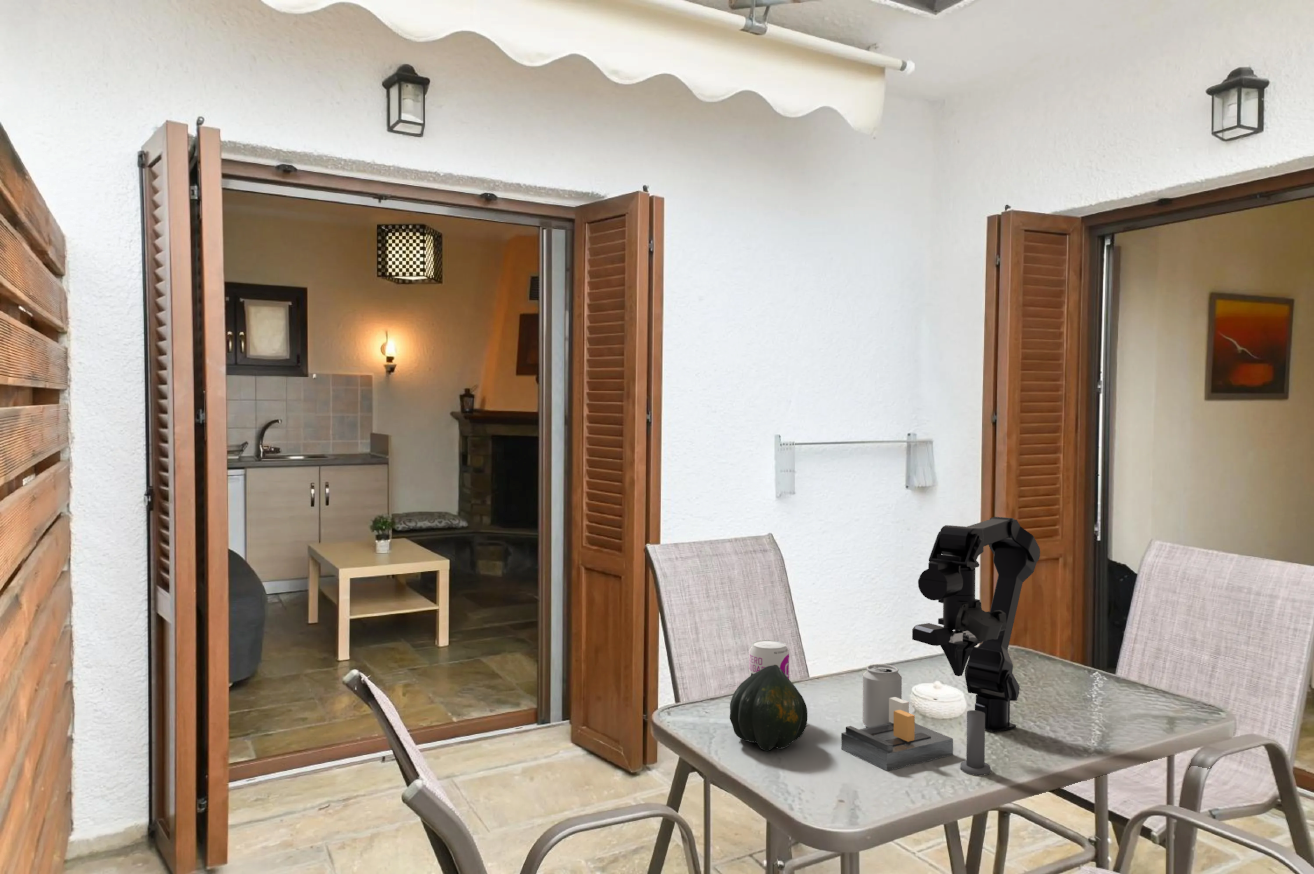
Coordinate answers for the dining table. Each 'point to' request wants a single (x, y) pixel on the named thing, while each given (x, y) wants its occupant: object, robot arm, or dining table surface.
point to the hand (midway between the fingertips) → (958, 675)
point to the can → (879, 693)
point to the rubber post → (975, 745)
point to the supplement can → (768, 656)
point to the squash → (768, 709)
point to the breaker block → (895, 746)
